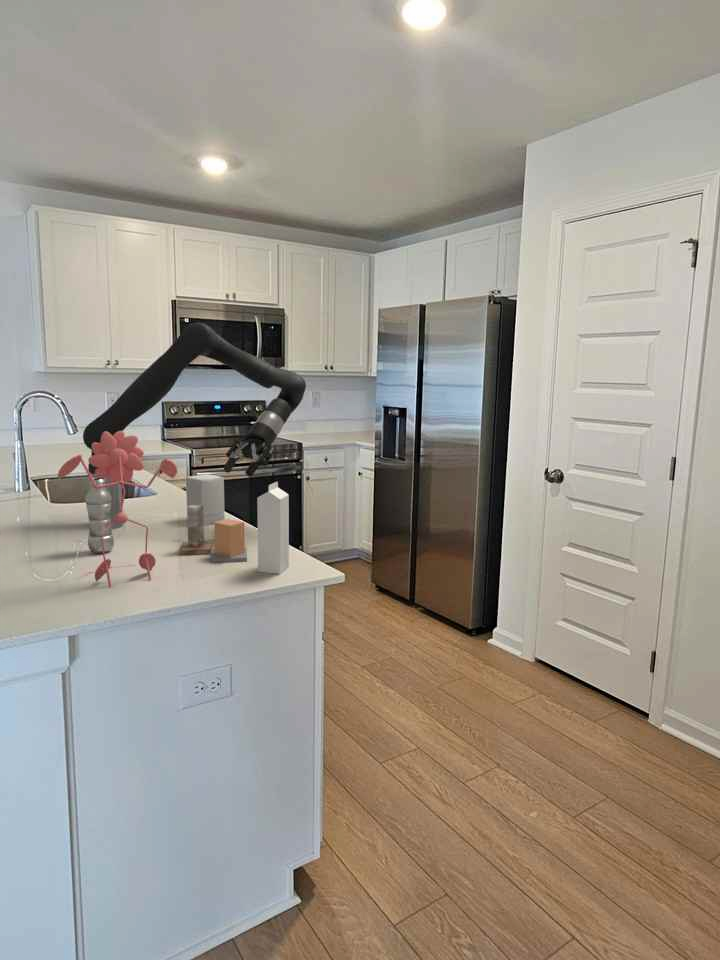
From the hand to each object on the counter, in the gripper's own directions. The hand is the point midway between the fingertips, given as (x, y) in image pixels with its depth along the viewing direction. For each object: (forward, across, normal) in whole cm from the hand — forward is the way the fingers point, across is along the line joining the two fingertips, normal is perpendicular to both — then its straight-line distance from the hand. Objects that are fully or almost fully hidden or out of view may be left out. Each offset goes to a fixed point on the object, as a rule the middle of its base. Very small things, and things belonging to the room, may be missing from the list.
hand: (236, 472), depth 173 cm
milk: (+22, +23, +8) cm, 33 cm away
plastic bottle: (+35, -23, -4) cm, 42 cm away
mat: (+21, +7, +8) cm, 24 cm away
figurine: (+40, -2, -10) cm, 41 cm away
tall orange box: (+20, +7, +8) cm, 23 cm away
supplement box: (+6, -27, +25) cm, 37 cm away
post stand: (+22, -4, +7) cm, 24 cm away
